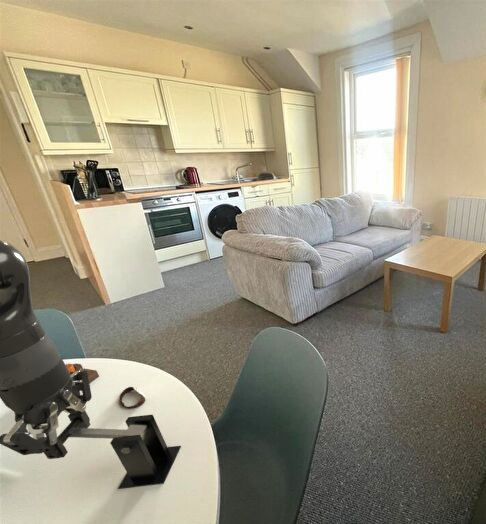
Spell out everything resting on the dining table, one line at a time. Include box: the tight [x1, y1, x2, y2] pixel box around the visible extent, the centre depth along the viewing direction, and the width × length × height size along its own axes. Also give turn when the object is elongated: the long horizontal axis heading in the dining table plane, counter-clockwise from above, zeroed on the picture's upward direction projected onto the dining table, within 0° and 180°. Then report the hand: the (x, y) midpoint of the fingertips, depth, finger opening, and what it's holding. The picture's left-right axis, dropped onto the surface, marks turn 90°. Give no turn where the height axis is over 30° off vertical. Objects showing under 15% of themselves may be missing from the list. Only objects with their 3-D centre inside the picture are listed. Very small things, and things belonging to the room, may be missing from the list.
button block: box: [71, 363, 100, 384], centre depth 76 cm, size 10×7×4 cm
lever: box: [57, 418, 148, 445], centre depth 51 cm, size 13×4×2 cm, turn 95°
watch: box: [118, 386, 146, 410], centre depth 70 cm, size 8×5×4 cm, turn 58°
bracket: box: [110, 414, 182, 490], centre depth 53 cm, size 8×7×12 cm
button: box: [65, 363, 75, 372], centre depth 75 cm, size 4×4×2 cm
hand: (72, 441), depth 51 cm, fingers closed on lever, 4 cm apart
